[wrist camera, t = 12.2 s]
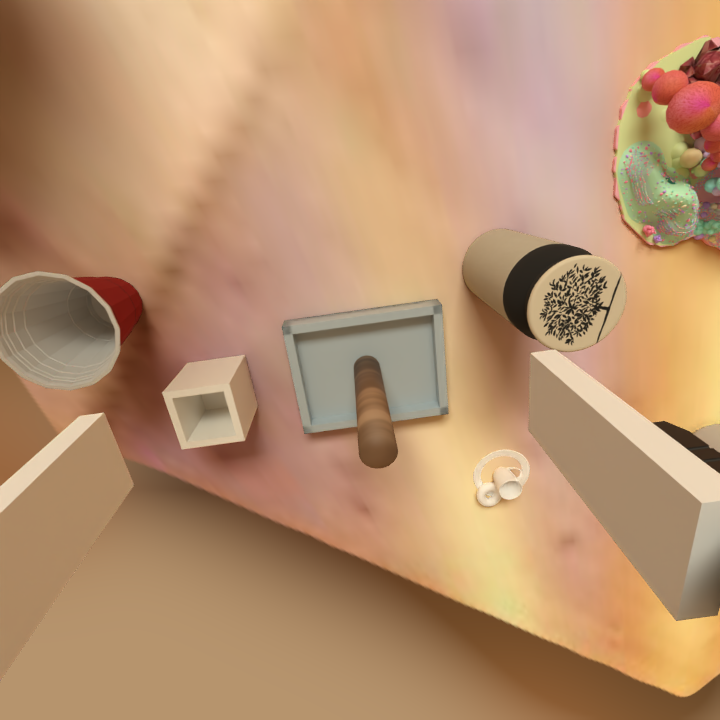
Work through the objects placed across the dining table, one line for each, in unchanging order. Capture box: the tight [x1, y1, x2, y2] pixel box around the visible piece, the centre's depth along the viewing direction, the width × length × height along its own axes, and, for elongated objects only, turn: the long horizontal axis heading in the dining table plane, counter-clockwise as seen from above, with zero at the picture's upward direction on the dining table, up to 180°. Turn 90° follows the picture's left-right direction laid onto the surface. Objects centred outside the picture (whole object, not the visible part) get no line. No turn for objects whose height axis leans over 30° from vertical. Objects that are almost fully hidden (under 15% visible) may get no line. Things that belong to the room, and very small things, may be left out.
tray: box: [282, 299, 448, 434], centre depth 51 cm, size 14×18×2 cm
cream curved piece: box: [473, 450, 530, 507], centre depth 58 cm, size 9×8×4 cm
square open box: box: [162, 355, 258, 449], centre depth 49 cm, size 7×7×8 cm
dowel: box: [354, 355, 398, 468], centre depth 43 cm, size 3×3×18 cm
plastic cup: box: [0, 271, 142, 390], centre depth 43 cm, size 11×11×12 cm
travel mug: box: [463, 229, 627, 352], centre depth 40 cm, size 8×8×18 cm
